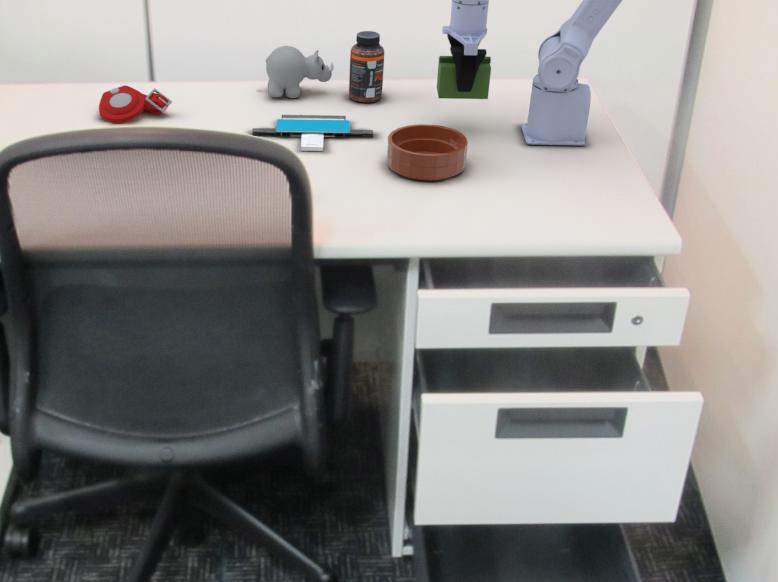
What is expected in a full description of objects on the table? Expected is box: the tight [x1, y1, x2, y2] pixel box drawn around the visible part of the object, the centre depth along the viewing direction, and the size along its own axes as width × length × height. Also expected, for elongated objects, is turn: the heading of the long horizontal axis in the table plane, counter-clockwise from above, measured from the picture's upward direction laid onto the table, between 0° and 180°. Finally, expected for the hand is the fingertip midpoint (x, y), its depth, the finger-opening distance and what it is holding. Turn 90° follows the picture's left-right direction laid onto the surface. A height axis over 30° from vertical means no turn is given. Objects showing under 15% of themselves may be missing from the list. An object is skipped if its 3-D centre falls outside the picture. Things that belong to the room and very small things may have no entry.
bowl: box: [386, 123, 468, 182], centre depth 174 cm, size 12×12×4 cm
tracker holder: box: [98, 84, 173, 124], centre depth 192 cm, size 12×4×10 cm
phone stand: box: [251, 114, 374, 152], centre depth 184 cm, size 20×12×2 cm, turn 89°
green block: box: [436, 55, 492, 100], centre depth 182 cm, size 8×5×6 cm, turn 88°
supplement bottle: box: [348, 30, 385, 103], centre depth 196 cm, size 6×6×11 cm
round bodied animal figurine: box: [265, 45, 334, 99], centre depth 198 cm, size 7×12×8 cm, turn 92°
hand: (462, 84), depth 183 cm, fingers closed on green block, 5 cm apart
